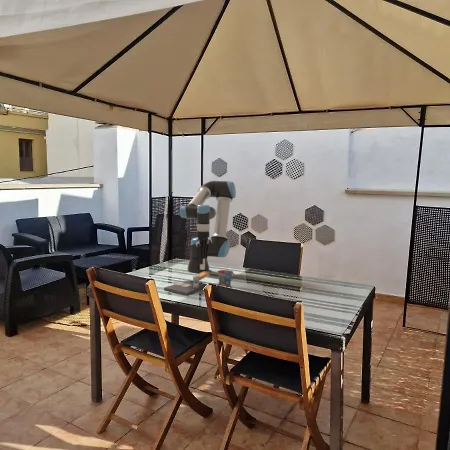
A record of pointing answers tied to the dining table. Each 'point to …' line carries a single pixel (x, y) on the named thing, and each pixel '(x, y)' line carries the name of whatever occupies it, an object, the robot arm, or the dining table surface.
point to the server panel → (186, 287)
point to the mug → (225, 277)
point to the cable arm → (200, 276)
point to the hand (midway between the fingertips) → (202, 269)
